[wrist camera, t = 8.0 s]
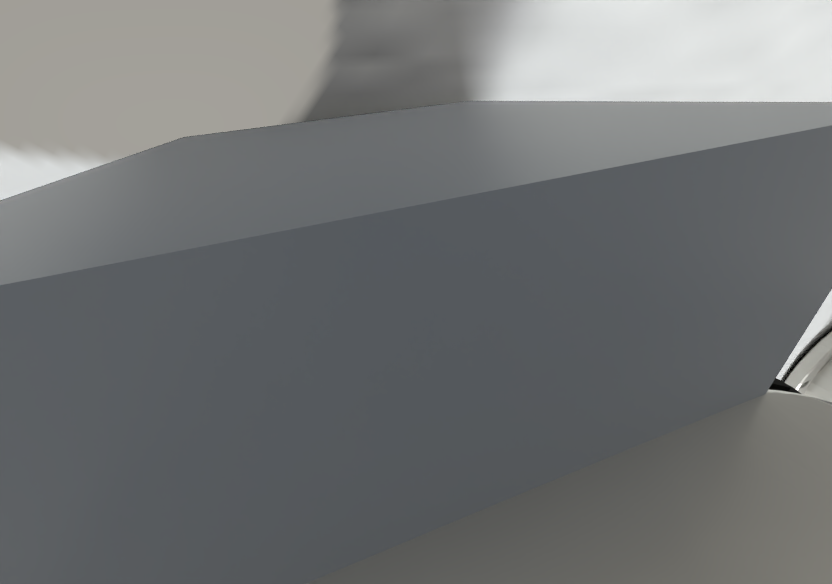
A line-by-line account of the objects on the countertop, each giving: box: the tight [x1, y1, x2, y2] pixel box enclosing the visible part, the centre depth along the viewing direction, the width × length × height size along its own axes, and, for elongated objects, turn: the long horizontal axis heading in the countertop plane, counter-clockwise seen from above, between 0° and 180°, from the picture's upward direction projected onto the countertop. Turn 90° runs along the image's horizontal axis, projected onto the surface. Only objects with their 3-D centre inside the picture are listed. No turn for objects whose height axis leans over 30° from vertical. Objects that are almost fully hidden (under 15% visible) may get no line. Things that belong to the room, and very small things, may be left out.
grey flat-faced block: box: [0, 101, 832, 584], centre depth 9 cm, size 8×12×9 cm, turn 6°
